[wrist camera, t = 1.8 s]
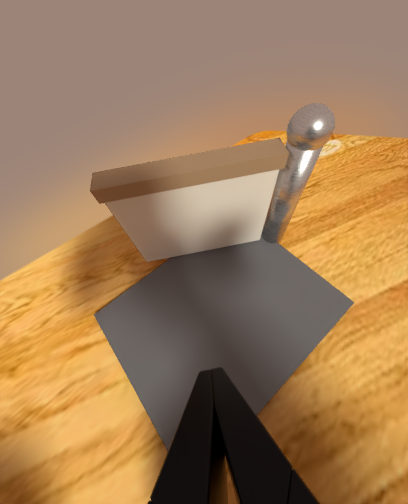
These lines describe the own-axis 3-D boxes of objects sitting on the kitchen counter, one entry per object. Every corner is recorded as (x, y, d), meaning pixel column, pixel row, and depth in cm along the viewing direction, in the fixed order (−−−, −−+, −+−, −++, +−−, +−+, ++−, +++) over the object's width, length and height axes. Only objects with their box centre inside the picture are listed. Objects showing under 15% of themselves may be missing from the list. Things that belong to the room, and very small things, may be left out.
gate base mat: (352, 303, 20) (354, 302, 20) (191, 489, 15) (190, 491, 14) (234, 211, 27) (235, 209, 26) (95, 315, 21) (93, 314, 21)
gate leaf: (257, 229, 24) (279, 137, 15) (262, 241, 23) (289, 153, 14) (144, 251, 24) (92, 172, 14) (145, 264, 23) (90, 190, 14)
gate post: (278, 225, 25) (329, 90, 13) (287, 244, 24) (353, 113, 12) (256, 229, 25) (286, 98, 13) (263, 248, 24) (305, 122, 12)
